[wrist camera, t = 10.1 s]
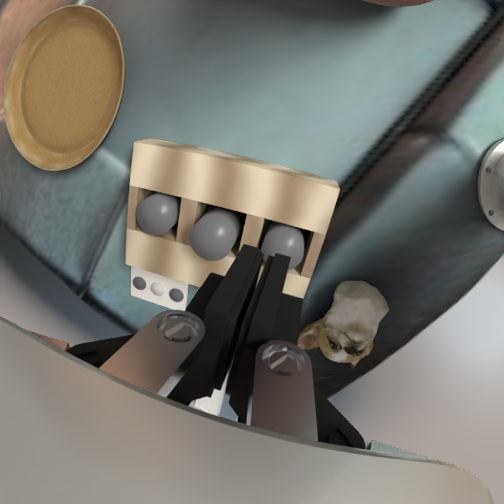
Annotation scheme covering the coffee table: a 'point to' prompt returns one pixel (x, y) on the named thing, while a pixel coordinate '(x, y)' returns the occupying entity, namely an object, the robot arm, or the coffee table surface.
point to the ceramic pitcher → (398, 2)
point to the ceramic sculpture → (347, 323)
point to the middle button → (215, 233)
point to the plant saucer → (64, 87)
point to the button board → (227, 196)
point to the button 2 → (284, 242)
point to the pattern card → (158, 289)
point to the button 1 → (158, 213)
